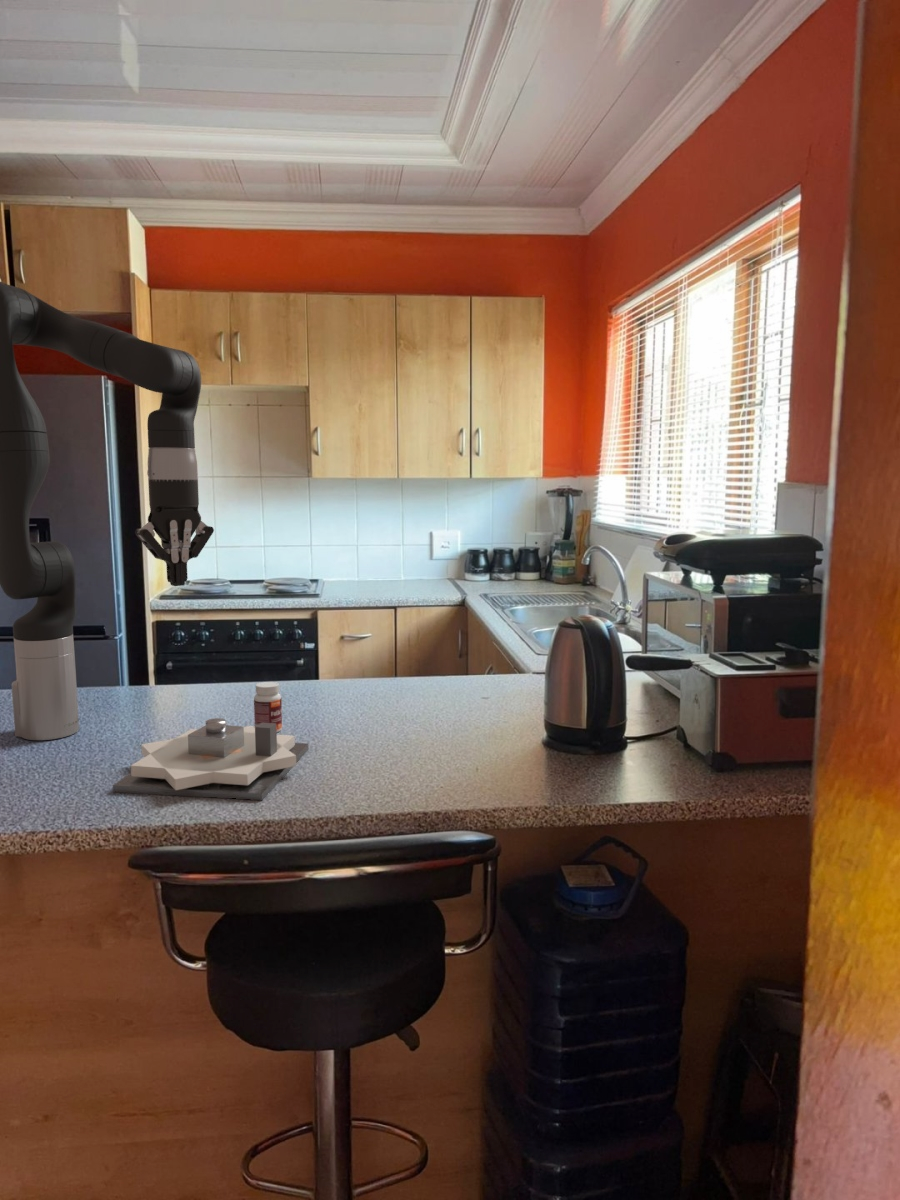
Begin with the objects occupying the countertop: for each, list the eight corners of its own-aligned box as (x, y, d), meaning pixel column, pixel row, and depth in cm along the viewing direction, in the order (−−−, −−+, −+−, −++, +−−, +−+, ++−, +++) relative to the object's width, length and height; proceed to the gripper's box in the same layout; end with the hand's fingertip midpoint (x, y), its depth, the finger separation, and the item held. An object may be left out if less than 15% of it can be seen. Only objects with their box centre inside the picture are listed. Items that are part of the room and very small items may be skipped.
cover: (224, 757, 124) (223, 728, 123) (188, 754, 125) (187, 725, 125) (244, 745, 130) (243, 717, 129) (209, 741, 131) (208, 714, 131)
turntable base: (113, 792, 119) (112, 785, 118) (181, 743, 140) (181, 737, 140) (262, 800, 116) (261, 793, 116) (308, 749, 137) (308, 743, 137)
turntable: (92, 783, 118) (90, 742, 117) (182, 730, 143) (181, 695, 142) (261, 797, 113) (260, 755, 112) (324, 739, 138) (323, 704, 137)
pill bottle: (275, 735, 145) (274, 688, 144) (250, 733, 146) (248, 686, 144) (286, 727, 149) (285, 681, 148) (261, 725, 150) (260, 680, 149)
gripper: (143, 477, 125) (149, 591, 128) (222, 477, 135) (226, 584, 137) (122, 477, 130) (127, 586, 133) (199, 477, 140) (203, 579, 142)
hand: (177, 585), depth 135 cm, fingers closed
